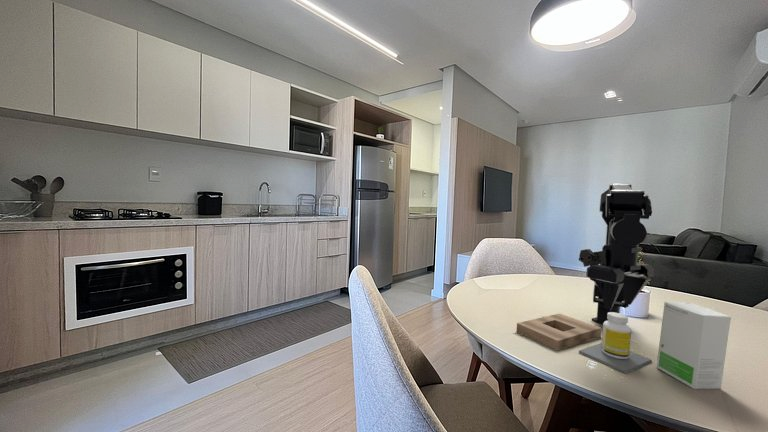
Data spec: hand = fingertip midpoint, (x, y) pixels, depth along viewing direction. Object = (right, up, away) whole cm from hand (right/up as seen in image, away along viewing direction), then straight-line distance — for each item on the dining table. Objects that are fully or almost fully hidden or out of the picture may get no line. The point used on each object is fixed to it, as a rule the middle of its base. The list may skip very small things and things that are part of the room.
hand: (618, 306), depth 73 cm
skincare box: (+9, -14, -7) cm, 18 cm away
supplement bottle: (0, -12, +1) cm, 12 cm away
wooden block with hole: (-7, -12, +13) cm, 19 cm away
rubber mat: (0, -13, +1) cm, 13 cm away
